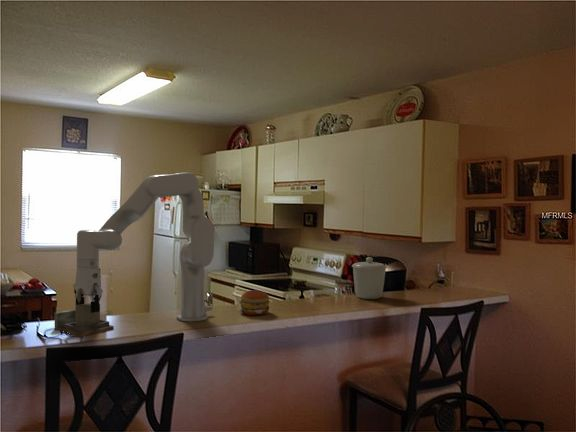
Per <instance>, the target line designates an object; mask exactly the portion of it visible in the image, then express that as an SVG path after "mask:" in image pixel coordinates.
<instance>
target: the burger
mask: <svg viewBox="0 0 576 432" xmlns="http://www.w3.org/2000/svg"><path fill="white" fill-rule="evenodd" d="M270 303H271V301H270V296H269V295H268V294H267V293H266V292H264V291H261V290H257V289H256V290H255V289H254V290H248V291H246V292H243V294H241V296H240V300H239V304H240V305H239V307H238V309H239V313H240V314H241V313H242V314H243V315H244V314H245V315H249V316H260V315H261V316H262V315H265V314H268V312H269V311H270Z"/></svg>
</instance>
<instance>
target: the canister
mask: <svg viewBox="0 0 576 432" xmlns="http://www.w3.org/2000/svg"><path fill="white" fill-rule="evenodd" d="M373 260H374V258H373V257H371V256H369V257H366V258H365V261H359V262H355V263H353V264H352V265H351V267H352V270H353V271H352V274H353V283H354V291H355V292H354V293H355V296H356V297H358V299H363V300H377V299H380V298H381V297H382V295H383V292H384V286H385V278H386V271H387V269H388V266H386V265H385V264H384V263H380V262H376V261H373Z"/></svg>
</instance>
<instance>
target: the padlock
mask: <svg viewBox="0 0 576 432" xmlns="http://www.w3.org/2000/svg"><path fill="white" fill-rule="evenodd" d="M81 291H82V289H81V288H79V289H78V291H77V300H78V303H80V301H81ZM95 296H96V295H95ZM95 296H94V297H95ZM100 319H101V304H100V303H99V312H93V313H91V302H90V303H84V304H79V305H76V304H75V326H76V327H83V326H88V325H93V324H98V323H100Z"/></svg>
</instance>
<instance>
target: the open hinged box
mask: <svg viewBox="0 0 576 432" xmlns="http://www.w3.org/2000/svg"><path fill="white" fill-rule="evenodd" d="M114 327H115V326H114V325H111V324H110V321H108V320H105V319H101V318H100V323H98V324H93V325H88V326H83V327H76V326H75V309H68V310H62V311H57V312H54V330H55V329H57V330H56V331H58V330H61V331H64V332H68V333H70V334H71V336H74V337H77V338H79V337H80V338H81V337H84V336H85V337H86V336H89V335H90V336H91V335H94V334H98V333H103V332H107V331H113V330H114ZM61 331H60V332H61ZM64 332H63V333H64ZM70 334H69V335H70Z"/></svg>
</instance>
